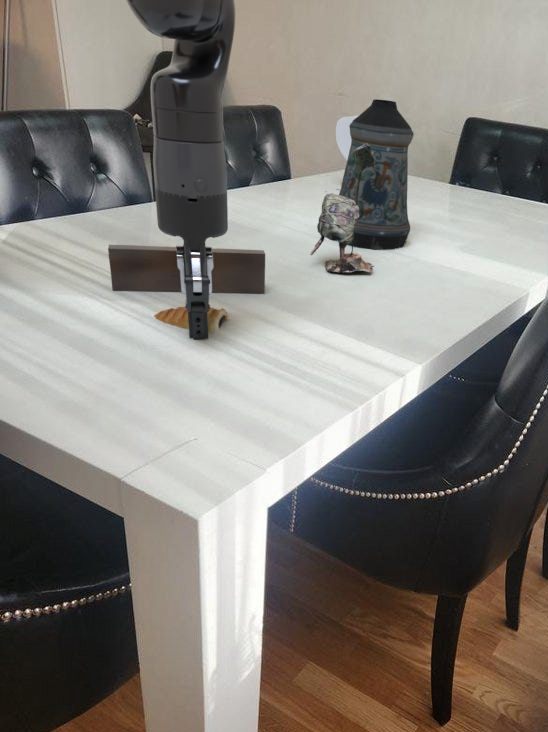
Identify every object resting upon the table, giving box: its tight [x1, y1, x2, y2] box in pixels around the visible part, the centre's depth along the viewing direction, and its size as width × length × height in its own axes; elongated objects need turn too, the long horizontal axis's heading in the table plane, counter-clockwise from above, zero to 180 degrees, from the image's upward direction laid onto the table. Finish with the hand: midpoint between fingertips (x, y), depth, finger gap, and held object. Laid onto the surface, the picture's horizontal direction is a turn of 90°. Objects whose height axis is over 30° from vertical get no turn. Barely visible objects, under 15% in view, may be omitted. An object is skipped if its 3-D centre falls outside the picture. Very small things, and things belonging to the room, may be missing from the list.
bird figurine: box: [309, 143, 376, 274], centre depth 109 cm, size 8×11×20 cm
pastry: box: [153, 305, 231, 333], centre depth 82 cm, size 9×7×4 cm
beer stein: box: [338, 99, 415, 251], centre depth 129 cm, size 16×19×25 cm
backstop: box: [107, 244, 266, 294], centre depth 96 cm, size 22×2×6 cm, turn 104°
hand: (198, 339), depth 79 cm, fingers closed
